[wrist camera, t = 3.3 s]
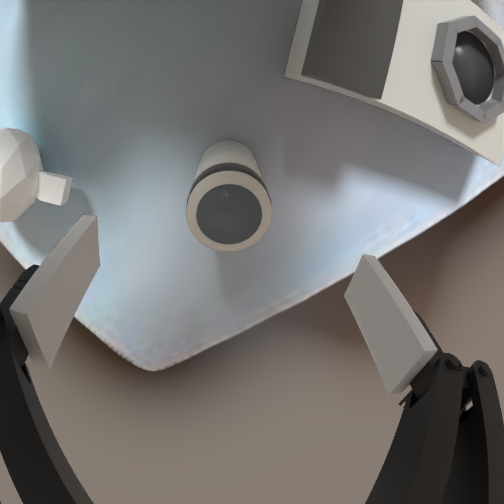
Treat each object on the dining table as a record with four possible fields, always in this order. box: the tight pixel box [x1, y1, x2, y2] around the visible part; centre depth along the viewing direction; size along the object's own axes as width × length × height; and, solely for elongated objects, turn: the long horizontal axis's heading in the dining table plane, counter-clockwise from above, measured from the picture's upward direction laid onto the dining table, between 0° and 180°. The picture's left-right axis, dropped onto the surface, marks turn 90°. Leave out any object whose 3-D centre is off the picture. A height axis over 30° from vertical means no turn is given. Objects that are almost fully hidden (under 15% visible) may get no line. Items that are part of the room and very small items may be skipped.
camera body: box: [284, 0, 504, 167], centre depth 17 cm, size 22×14×8 cm, turn 78°
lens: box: [186, 140, 272, 252], centre depth 21 cm, size 5×5×10 cm
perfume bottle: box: [0, 128, 73, 222], centre depth 19 cm, size 9×9×12 cm
